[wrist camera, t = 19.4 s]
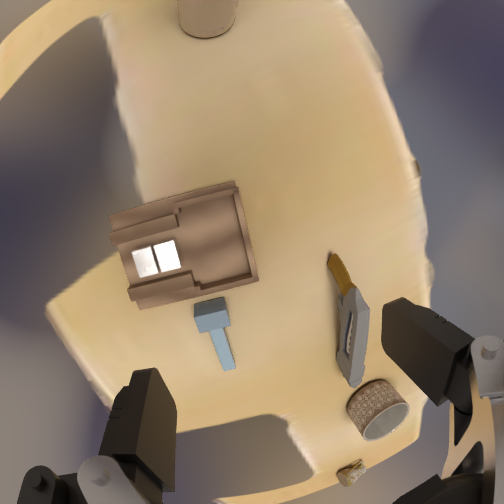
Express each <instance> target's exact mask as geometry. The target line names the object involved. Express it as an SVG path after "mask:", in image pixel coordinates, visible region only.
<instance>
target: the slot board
mask: <svg viewBox="0 0 504 504" xmlns="http://www.w3.org/2000/svg"><path fill="white" fill-rule="evenodd" d="M109 217H110V221H111V225H112V228H113V232H111V233H109V235H110V239H111V242H112V245H113V246H115V245H117V246H118V249H119V253H120V256H121V259H122V262H123V265H124V268H125V271H126V274H127V277H128V280H129V283H130V286H129V288H128V289H127V291H128V294H129V297H130V299H131V301H136V302H137V305H138V308H139V310H144V309H148V308H152V307H157V306H161V305H165V304H170V303H174V302H178V301H182V300H186V299H190V298H195V297H199V296H203V295H207V294H211V293H215V292H219V291H223V290H227V289H231V288H234V287H238V286H242V285H246V284H250V283H254V282H257V281H259V278H258V274H257V270H256V265H255V261H254V256H253V252H252V247H251V243H250V239H249V234H248V230H247V225H246V221H245V217H244V212H243V208H242V203H241V199H240V195H239V190H238V187H236V185H235V181H232V182H228V183H224V184H219V185H215V186H211V187H207V188H203V189H199V190H195V191H191V192H188V193H184V194H180V195H176V196H173V197H169V198H166V199H162V200H159V201H155V202H152V203H148V204H145V205H142V206H138V207H135V208H132V209H129V210H125V211H122V212H119V213H116V214H113V215H110V216H109ZM175 237H176V240H177V244H178V248H179V251H180V255H181V258H182V262H183V263H182V266H181V268H177V269H173V270H169V271H165V272H161V270H160V271H159V273H157V274H153V275H149V276H145V277H142V278H140V277H139V274H138V271H137V268H136V265H135V261H134V258H133V255H132V251H133V250H135V249H136V248H138V247H142V246H145V245H149V244H153V243H154V245H155V244H156V243H157V242H160V241H164V240H167V239H171V238H175Z"/></svg>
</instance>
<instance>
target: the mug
mask: <svg viewBox="0 0 504 504" xmlns="http://www.w3.org/2000/svg"><path fill="white" fill-rule="evenodd" d="M360 463H361V465H359V464H360ZM363 463H364V462H363V461H361V462H358V463H357V464H355V465H354V466H353V467H352V468H349V469H344V470H342V471H340V472H339V473H338V474H337V477H338V480H339V482H340V483H341V484H342V485H343V486H345V487H348V486H350V485H352V484H353V483H354V482H355V481H356V480H357V479H358V477H359V476H361V475H362V474H363V473H365V472H366V467H365V466H364V465H363ZM357 465H359V466H357ZM356 466H357V467H356Z"/></svg>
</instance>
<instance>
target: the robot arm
mask: <svg viewBox="0 0 504 504" xmlns="http://www.w3.org/2000/svg"><path fill="white" fill-rule="evenodd" d="M177 4H178V13H179V20H180V25H181V27H182V29H183V30H184V31H185V32H186V33H188V34H190V35H192V36H196V37H203V38H207V37H214V36H218V35H220V34H223V33H224V32H226V31H227V30H228V29H230V28H231V26H232V25H233V22H234V18H235V13H236V9H237V4H238V0H177ZM381 342H382V346H383V349H384V351H385V353H386V354H387V355H388V356H389V357H390V358H391V359H392V360H393V361H394V362H395V363H396V364H397V365H398V366H399V367H400V368H401V369H402V370H403V371H404V372H405V373H406V374H407V376H408V377H409V378H410V379H411V380H412V381H413V382H414V383H415V384H416V385H417V386H418V387H419V388H420V389H421V390H422V391H423V392H424V393H425V394H426V395H427V396H428V397H429V398H430V399H431V400H432V401H433V402H434V403H435V404H436V406H439V405H441V404H442V403H444V402H445V401H447V400H448V399H449V400H450V401H451V405H450V437H449V453H448V457H447V460H446V462H445V466H444V469H443V472H442V477H441V479H440V478H439V476H438V475H437V474H436V475H434V476H433V477H431V478H430V479H428V480H427V481H426V482H424V483H422V484H421V485H419V486H417V487H416V488H414V489H413V490H411V491H409V492H407V493H406V494H404V495H402V496H401V497H399V498H398V499H397V500H396V501H395V502H393V504H504V341H502V340H501V339H499V338H497V337H494V336H489V335H488V336H481V337H479V338H477V339H474V338H473V337H471V336H470V335H469V334H467V333H466V332H464V331H462V330H461V329H460V328H458V327H457V326H455V325H454V324H452V323H451V322H449V321H448V322H447V320H446V319H445V318H443V317H442V316H440V317H439V315H438V314H437V313H435V312H434V311H432V310H431V309H429V308H426V307H422V306H419V305H415V304H413V303H412V302H410V301H409V300H407V299H406V298H403V297H401V298H399V299H396V300H394V301H391V302H389V303H387V304H385V305H384V306H383V309H382V334H381ZM176 425H177V409H176V405H175V402H174V399H173V397H172V396H171V394H170V392H169V390H168V388H167V386H166V385H165V383H164V381H163V379H162V377H161V375H160V373H159V371H158V370H157V369H156V368H149V369H142V370H135V371H134V372H133V374H132V377H131V380H130V383H129V386H124V387H123V388H122V389H121V391H120V392H119V393H118V394H117V396H116V397H115V400H114V403H113V406H112V411H111V412H110V416H109V420H108V422H107V426H106V429H105V432H104V437H103V440H102V443H101V447H100V451H99V454H98V456H94V457H91V458H89V459H88V460H86V461H85V462H84V463H83V464H82V465H81V466H80V468H79V470H78V473H73V474H67V475H61V476H57V475H56V474H55V473H54V472H53V471H51V470H50V469H49V468H48V467H46V466H35V467H33V468H31V469H30V470H29V471H28V472H27V473H26V475H25V477H24V480H23V483H22V486H21V490H20V494H19V497H18V501H17V504H165V503H163V502H162V492H175V447H176Z"/></svg>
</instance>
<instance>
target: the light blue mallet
mask: <svg viewBox="0 0 504 504" xmlns="http://www.w3.org/2000/svg"><path fill="white" fill-rule="evenodd" d="M194 319H195V322H196V324H197V327H198V330H199V332H200V333H202V332H207V331H209V332H210V334H211V337H212V340H213V343H214V346H215V348H216V351H217V354H218V357H219V359H220V362H221V365H222V367H223V370H224V371H227V370H231V369H235V368H236V366H235V361H234V358H233V355H232V352H231V349H230V346H229V343H228V339H227V336H226V333H225V330H224V327H228V326H231V324H230V319H229V314H228V310H227V306H226V303H225V299H224V297H222V298H217V299H213V300H209V301H205V302H201V303H197V304H194Z"/></svg>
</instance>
